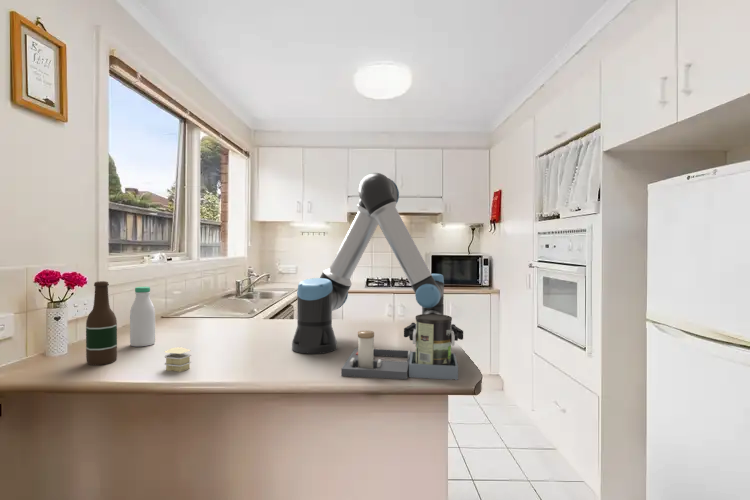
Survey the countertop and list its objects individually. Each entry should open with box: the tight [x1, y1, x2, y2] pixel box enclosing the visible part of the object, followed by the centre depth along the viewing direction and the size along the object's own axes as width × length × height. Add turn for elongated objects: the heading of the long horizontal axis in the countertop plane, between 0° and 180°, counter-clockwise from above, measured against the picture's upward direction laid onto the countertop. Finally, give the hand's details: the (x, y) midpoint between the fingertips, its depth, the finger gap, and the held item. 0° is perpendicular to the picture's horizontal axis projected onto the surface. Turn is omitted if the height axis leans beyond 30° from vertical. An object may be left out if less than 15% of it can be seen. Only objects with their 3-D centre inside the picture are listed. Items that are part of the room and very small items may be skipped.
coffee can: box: [415, 313, 453, 366], centre depth 121 cm, size 10×10×14 cm
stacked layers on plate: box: [164, 346, 192, 373], centre depth 121 cm, size 10×9×6 cm
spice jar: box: [357, 330, 375, 369], centre depth 120 cm, size 5×5×11 cm
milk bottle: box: [129, 286, 156, 348], centre depth 148 cm, size 8×8×20 cm
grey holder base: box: [340, 347, 411, 380], centre depth 126 cm, size 18×22×3 cm
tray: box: [408, 350, 459, 381], centre depth 122 cm, size 13×13×4 cm
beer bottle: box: [85, 280, 118, 366], centre depth 126 cm, size 8×8×24 cm
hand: (433, 339), depth 117 cm, fingers closed on coffee can, 10 cm apart
